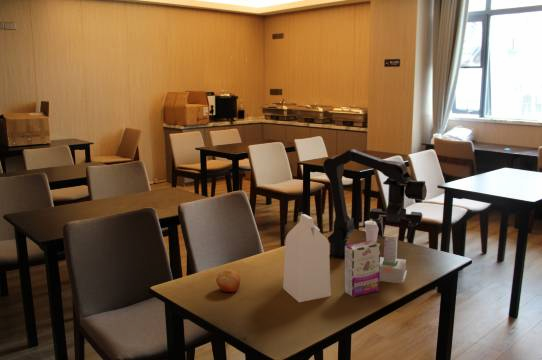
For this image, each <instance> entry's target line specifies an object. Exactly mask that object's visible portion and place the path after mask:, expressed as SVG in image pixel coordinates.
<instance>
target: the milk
mask: <svg viewBox="0 0 542 360" xmlns="http://www.w3.org/2000/svg"><path fill="white" fill-rule="evenodd" d="M284 246H285V247H284V263H283V264H284V266H283V282H282V283H283V286H282V289H283V290H284V291H286V292H287V293H288V294H289V295H290V296H291V297H292V298H293V299H295V300H296V301H297V302H298V303H303V302H306V301H307V302H308V301H311V300H312V301H313V300H317V299H322V298H328V297H331V296H332V293H331V269H330V265H331V264H330V257H329V255H330V243H329V241H328V237H326V236H324V235H323V234H322V232H321V229H320V228H319V227H318V226H317V225H315V221H314V218H313V217H311V216H309V215H307V214H305V213H303V214H302V213H301V214H300V217H299V222H297V224H295V225H294V226H293V227H292V228H291V229H290V231H289V232H288V233H287V234H286V236H285V245H284Z"/></svg>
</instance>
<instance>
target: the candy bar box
mask: <svg viewBox="0 0 542 360" xmlns="http://www.w3.org/2000/svg"><path fill="white" fill-rule="evenodd" d="M380 257H381V244H380V243H379V242H377V241H376V242H374V241H367V240H365V241H361V242H358V243H352V244H348V245H347V246H345V259H344V293H345V294H347V295H348V296H350V297H352V298H356V297H359V296H364V295H367V294H372V293H374V292H375V293H376V292H379V291H380V281H379V279H380Z"/></svg>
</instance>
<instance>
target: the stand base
mask: <svg viewBox="0 0 542 360" xmlns="http://www.w3.org/2000/svg"><path fill="white" fill-rule="evenodd" d="M383 261H384V256H383V257H382V256H380V279H379V282H386V283H393V284H394V283H395V284H401V285H404V284H405V282H406V281H405V280H406V278H407V274H408V270H406V269H407V266H406V265H407V259H402V258H397V263H396V266H391V265H384V264H383Z"/></svg>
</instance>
